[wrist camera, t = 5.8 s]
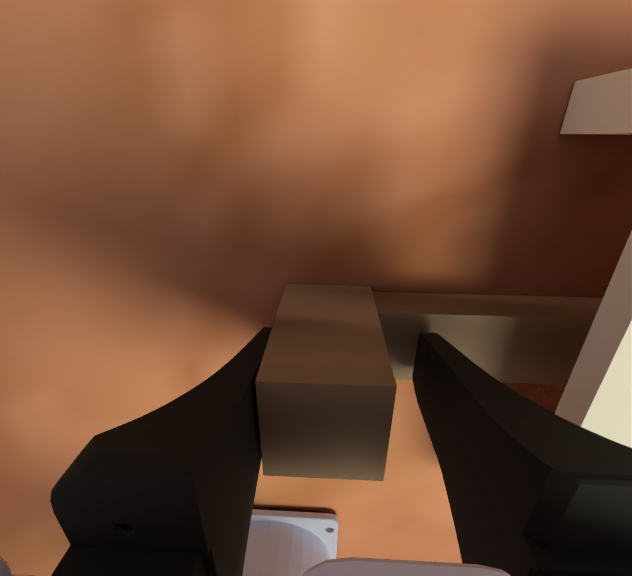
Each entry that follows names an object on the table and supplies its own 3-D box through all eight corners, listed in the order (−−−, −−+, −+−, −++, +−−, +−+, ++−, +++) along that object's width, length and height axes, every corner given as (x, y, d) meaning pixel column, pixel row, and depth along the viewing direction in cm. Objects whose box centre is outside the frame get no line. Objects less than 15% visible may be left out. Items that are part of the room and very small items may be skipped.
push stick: (678, 366, 14) (886, 505, 9) (288, 353, 15) (263, 475, 10) (719, 295, 13) (998, 409, 8) (286, 283, 14) (255, 380, 8)
